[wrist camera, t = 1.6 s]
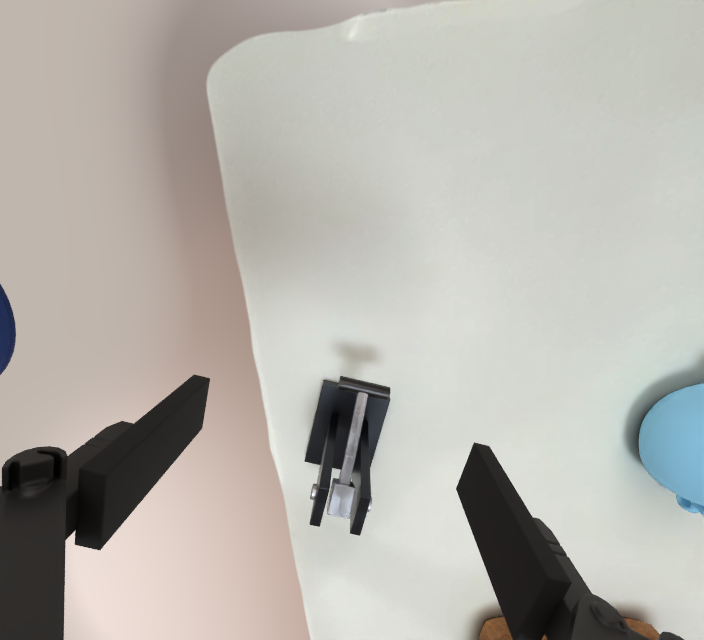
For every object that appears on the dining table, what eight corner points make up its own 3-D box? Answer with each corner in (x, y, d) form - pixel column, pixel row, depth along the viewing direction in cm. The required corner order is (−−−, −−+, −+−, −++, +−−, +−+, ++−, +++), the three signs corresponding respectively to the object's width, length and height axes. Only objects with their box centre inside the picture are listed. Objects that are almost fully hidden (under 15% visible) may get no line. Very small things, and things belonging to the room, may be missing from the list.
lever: (340, 376, 37) (341, 375, 35) (387, 387, 37) (392, 386, 35) (311, 503, 34) (310, 510, 32) (363, 514, 34) (366, 523, 32)
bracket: (323, 379, 44) (306, 447, 30) (389, 394, 45) (402, 469, 30) (306, 455, 47) (281, 551, 33) (367, 469, 48) (370, 570, 33)
